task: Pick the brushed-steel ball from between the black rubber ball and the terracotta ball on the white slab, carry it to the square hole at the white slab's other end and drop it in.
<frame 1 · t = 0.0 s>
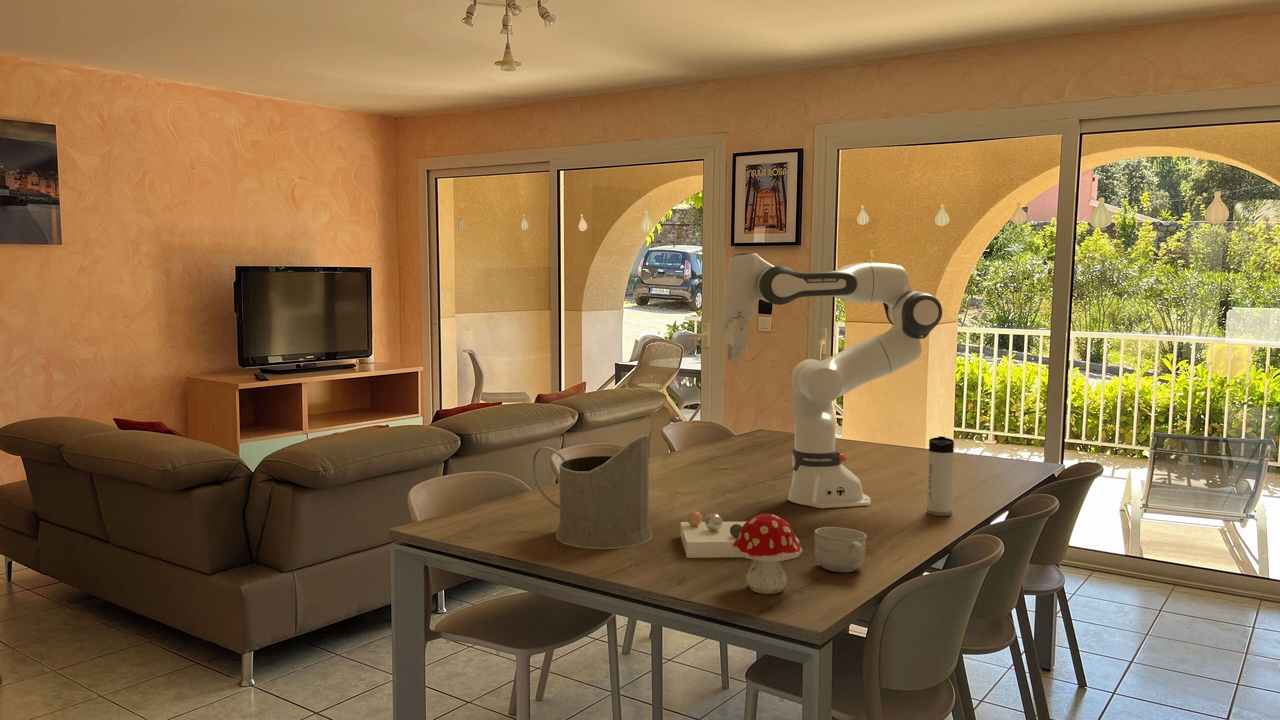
hand: (732, 361, 252), 39 cm above the table, tool pointing down, fingers open, 8 cm apart
travel mug: (939, 514, 242), on the table
decorative mushroom: (766, 589, 182), on the table
pitcher: (588, 533, 223), on the table
black rubber ball: (736, 530, 206), point 5 cm above the table, touching white slab
steel ball: (713, 522, 212), point 5 cm above the table, touching white slab
terracotta ball: (694, 518, 216), point 5 cm above the table, touching white slab
white slab: (737, 546, 212), on the table
teacup: (842, 571, 194), on the table
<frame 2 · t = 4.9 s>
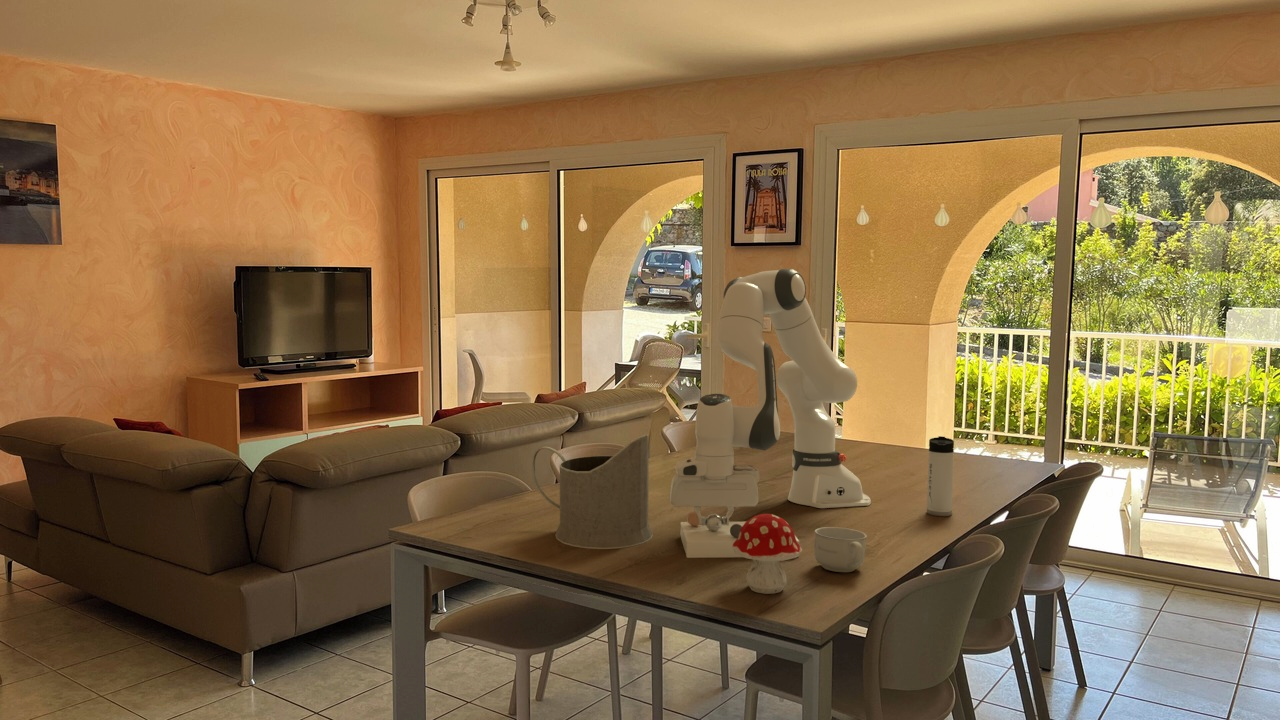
hand: (713, 524, 212), 5 cm above the table, tool pointing down, fingers closed on steel ball, 4 cm apart
steel ball: (713, 522, 212), point 5 cm above the table, touching gripper, white slab
everything else where it was.
when the fingers open (7 cm above the table, at t = 9.1 s): steel ball drops 6 cm and tips over, point 2 cm above the table.
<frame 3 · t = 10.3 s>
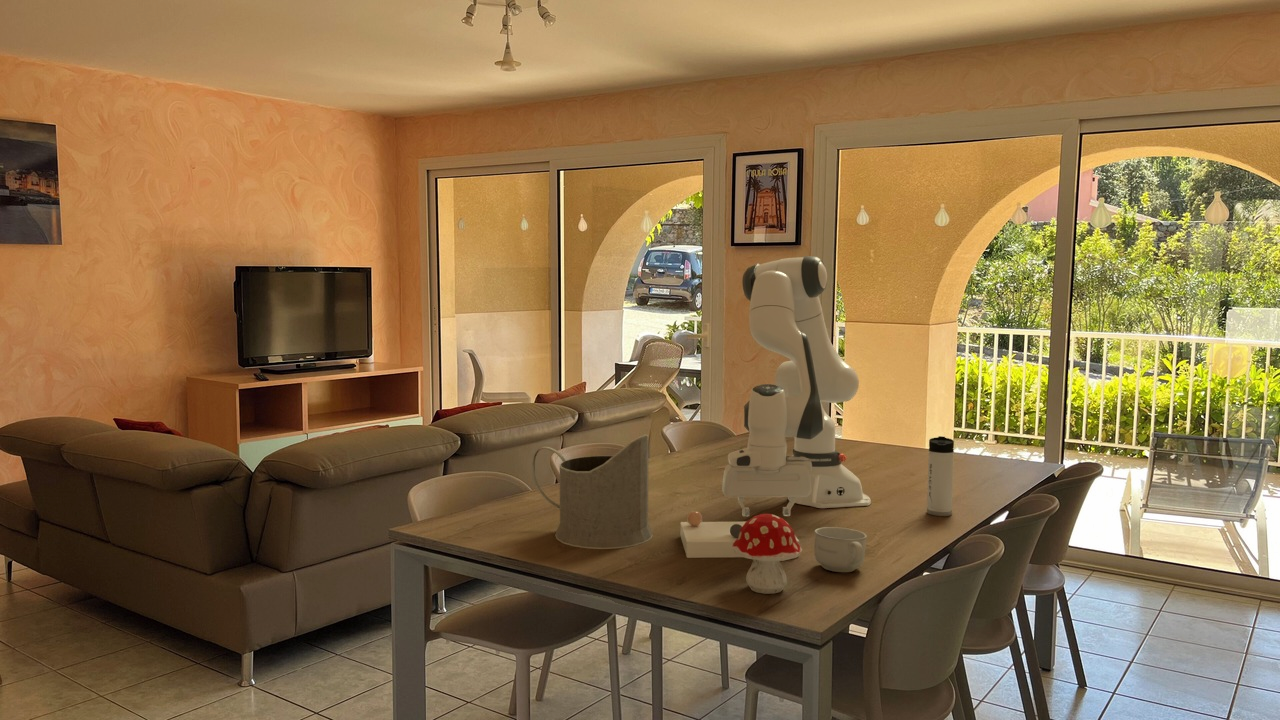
hand: (766, 515, 211), 7 cm above the table, tool pointing down, fingers open, 8 cm apart
steel ball: (770, 537, 212), point 2 cm above the table, tilted 31°
everything else where it was.
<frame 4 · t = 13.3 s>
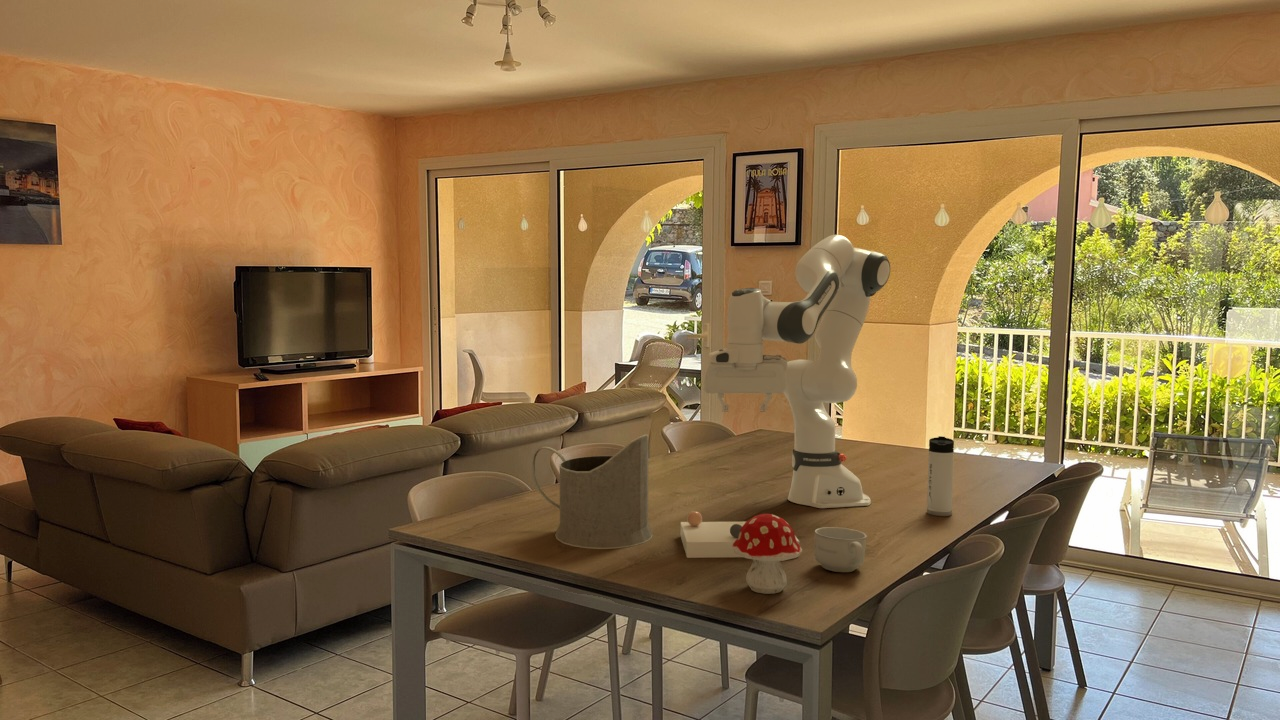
hand: (744, 411, 225), 29 cm above the table, tool pointing down, fingers open, 8 cm apart
steel ball: (769, 537, 212), point 2 cm above the table, tilted 25°
everything else where it was.
at the end: steel ball 0.8 cm from the target spot, point 2.0 cm above the table; the gripper is holding nothing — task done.
